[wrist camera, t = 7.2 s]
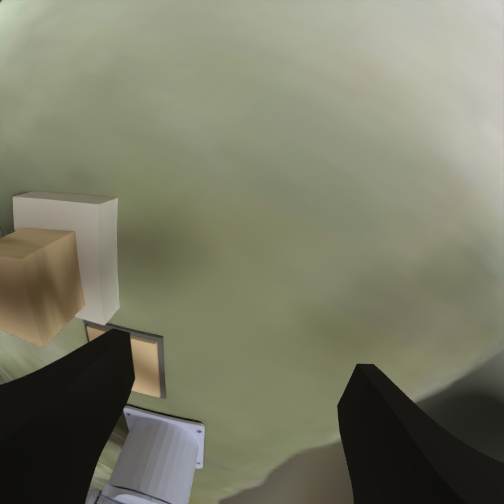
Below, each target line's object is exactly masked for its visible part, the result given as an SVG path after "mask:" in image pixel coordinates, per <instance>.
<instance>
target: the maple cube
mask: <svg viewBox="0 0 504 504" xmlns="http://www.w3.org/2000/svg"><path fill="white" fill-rule="evenodd" d="M84 306H85V301H84V296H83V290H82V284H81V278H80V271H79V263H78V255H77V247H76V236H75V231H62V230H48V229H34V228H23V229H20V230H18V231H15V232H13V233H11V234H8V235H6V236H4V237H2V238H0V330H2V331H5V332H7V333H9V334H12V335H14V336H16V337H19V338H21V339H24V340H26V341H29V342H32V343H34V344H37V345H39V346H42V347H44V346H45V345H46V344H47V343H48V342H49V341H50V340H51V339H52V338H53V337H54V336H55V335H56V334H57V333H58V332H59V331H60V330H61V329H62V328H63V327H64V326H65V325H66V324H67V323H68V322H69V321H70V320H71V319H72V318H73V317H74V316H75V315H76V314H77V313H78V312H79V311H80V310H81V309H82V308H83V307H84Z"/></svg>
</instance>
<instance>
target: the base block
mask: <svg viewBox="0 0 504 504" xmlns="http://www.w3.org/2000/svg"><path fill="white" fill-rule="evenodd" d="M117 210H118V198H114V197H104V196H93V195H82V194H70V193H57V192H43V191H32V192H28V193H24V194H20V195H17V196H13V217H14V232H15V231H18V230H20V229H23V228H34V229H48V230H62V231H75V236H76V247H77V255H78V263H79V271H80V278H81V284H82V290H83V296H84V301H85V306H84V307H83V308H82V309H81V310H80V311H79V312H78V313H77V314H76V315H75V316H74V317H77V318H81V319H84V320H87V321H91V322H94V323H98V324H101V325H105V324H106V323H107V322H108V321H109V320H110V319H111V317H112V316H113V315H114V314H115V313H116V311H117V310H118V309H119V308H120V306H119V291H118V270H117Z"/></svg>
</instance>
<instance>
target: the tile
mask: <svg viewBox="0 0 504 504" xmlns="http://www.w3.org/2000/svg"><path fill="white" fill-rule="evenodd" d="M84 321H85V327H86V332H87V338H88V342H90V341H92V340H93V339H95V338H97V337H98V336H100V335H102V334H103V333H105V332H107V331H109V330H111V329H113V328H115V329H119V330H122V331H126V332H130V338H131V348H132V356H133V364H134V371H135V381H134V384H133V387H132V391H136V392H139V393H143V394H147V395H151V396H155V397H159V398H164V399H165V398H166V388H165V371H164V348H163V336H159V335H155V334H150V333H146V332H142V331H137V330H133V329H129V328H125V327H121V326H117V325H113V324H109V323H106V324H105V325H101V324H98V323H94V322H91V321H87V320H84Z"/></svg>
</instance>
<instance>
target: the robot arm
mask: <svg viewBox="0 0 504 504" xmlns="http://www.w3.org/2000/svg"><path fill="white" fill-rule="evenodd" d="M134 381H135V371H134V364H133V356H132V348H131V338H130V332H126V331H122V330H119V329H115V328H113V329H111V330H109V331H107V332H105V333H103V334H102V335H100V336H98V337H97V338H95V339H93V340H92V341H90V342H88V343H87V344H85V345H83V346H81V347H80V348H78V349H76V350H75V351H73V352H71V353H69V354H68V355H66V356H64V357H62V358H61V359H59V360H57V361H55V362H53V363H51V364H49V365H47V366H45V367H43V368H41V369H39V370H37V371H35V372H33V373H31V374H28V375H26V376H24V377H21V378H19V379H16V380H13V381H11V382H8V383H5V384H2V385H0V504H188V501H189V496H190V491H191V486H192V481H193V476H194V471H195V468H199V469H200V468H202V467H203V452H204V433H205V426H204V425H203V424H202V423H198V422H193V421H188V420H183V419H178V418H173V417H169V416H165V415H161V414H157V413H153V412H149V411H145V410H141V409H138V408H134V407H131V406H127V405H126V403H127V401H128V398H129V395H130V393H131V390H132V387H133V384H134ZM125 405H126V406H125ZM337 409H338V421H339V430H340V435H341V440H342V444H343V448H344V453H345V457H346V461H347V465H348V470H349V474H350V479H351V483H352V489H353V496H354V504H504V463H503V462H500V461H497V460H495V459H493V458H490V457H489V456H486V455H484V454H483V453H481V452H479V451H477V450H475V449H474V448H472V447H470V446H469V445H467V444H465V443H464V442H462V441H461V440H459V439H458V438H456V437H455V436H453V435H452V434H450V433H449V432H448V431H446V430H445V429H444V428H442V427H441V426H440V425H438V423H436V422H435V421H434V420H433V419H431V418H430V417H429V416H428V415H427V414H426V413H425V412H423V411H422V410H421V409H420V408H419V407H418V406H417V405H416V404H415V403H414V402H413V401H412V400H411V399H410V398H408V397H407V396H406V395H405V394H404V393H403V392H402V391H401V390H400V389H399V388H398V387H397V386H396V385H395V384H394V383H393V382H392V381H391V380H390V379H389V378H388V377H387V376H386V375H385V374H384V373H383V372H382V371H381V370H380V369H378V368H377V367H376V366H375V365H374V364H357V365H356V367H355V369H354V371H353V374H352V376H351V378H350V380H349V382H348V384H347V387H346V389H345V391H344V393H343V395H342V397H341V399H340V401H339V403H338V405H337ZM122 411H124V415H125V418H126V422H127V426H128V429H129V433H128V435H127V438H126V440H125V443H124V445H123V447H122V450H121V452H120V455H119V457H118V459H117V462H116V464H115V467H114V469H113V472H112V474H111V477H110V479H109V482H108V484H105V485H104V488H103V490H100V489H98V488H94V489H90V490H89V487H90V483H91V480H92V477H93V474H94V471H95V468H96V465H97V462H98V460H99V457H100V455H101V453H102V450H103V448H104V446H105V444H106V442H107V441H108V439H109V437H110V435H111V433H112V431H113V429H114V427H115V425H116V423H117V421H118V419H119V417H120V415H121V413H122ZM101 491H102V493H101Z"/></svg>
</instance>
